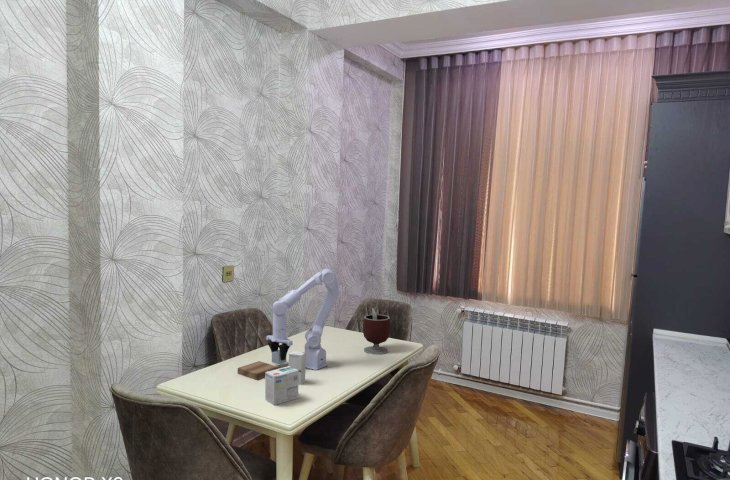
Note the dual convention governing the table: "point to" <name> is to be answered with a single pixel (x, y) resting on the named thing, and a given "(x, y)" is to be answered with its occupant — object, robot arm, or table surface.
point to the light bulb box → (281, 385)
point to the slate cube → (277, 357)
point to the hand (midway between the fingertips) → (279, 358)
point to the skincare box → (298, 364)
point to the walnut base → (256, 370)
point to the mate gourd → (376, 332)
